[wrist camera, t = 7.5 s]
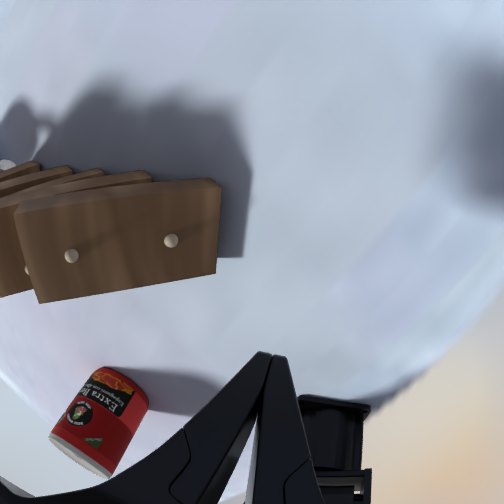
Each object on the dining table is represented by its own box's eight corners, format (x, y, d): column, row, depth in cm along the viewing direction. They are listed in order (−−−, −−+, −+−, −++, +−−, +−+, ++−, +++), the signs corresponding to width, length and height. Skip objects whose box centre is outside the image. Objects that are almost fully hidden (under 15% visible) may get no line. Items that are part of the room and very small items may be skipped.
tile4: (74, 171, 16) (-63, 215, 9) (79, 239, 19) (-41, 285, 12) (66, 165, 17) (-60, 203, 10) (71, 228, 20) (-41, 269, 13)
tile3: (105, 172, 15) (-47, 225, 10) (117, 248, 18) (-18, 301, 12) (97, 168, 17) (-42, 214, 11) (108, 238, 19) (-17, 285, 13)
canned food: (138, 376, 27) (87, 460, 18) (158, 415, 31) (121, 487, 22) (85, 357, 29) (34, 426, 20) (109, 397, 33) (70, 459, 24)
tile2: (153, 179, 15) (-28, 218, 9) (155, 260, 17) (0, 301, 12) (143, 170, 16) (-21, 204, 10) (145, 245, 19) (1, 281, 13)
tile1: (224, 190, 14) (11, 217, 10) (218, 277, 16) (38, 308, 12) (210, 177, 15) (20, 201, 11) (206, 258, 18) (41, 285, 14)
